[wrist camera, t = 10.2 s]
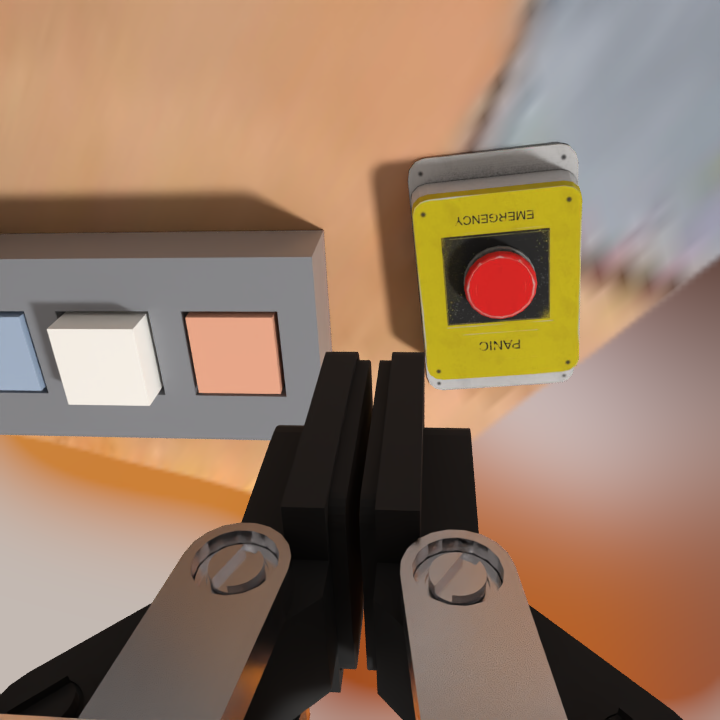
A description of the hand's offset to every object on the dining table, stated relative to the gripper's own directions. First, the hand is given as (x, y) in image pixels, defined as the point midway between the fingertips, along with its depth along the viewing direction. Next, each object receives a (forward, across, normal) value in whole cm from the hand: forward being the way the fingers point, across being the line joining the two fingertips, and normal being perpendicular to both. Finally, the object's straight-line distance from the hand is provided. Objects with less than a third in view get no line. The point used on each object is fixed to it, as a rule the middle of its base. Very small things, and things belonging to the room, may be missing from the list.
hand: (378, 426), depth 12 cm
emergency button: (+30, -5, +9) cm, 32 cm away
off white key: (+26, +18, +12) cm, 34 cm away
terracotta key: (+27, +10, +12) cm, 32 cm away
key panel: (+29, +18, +12) cm, 36 cm away
